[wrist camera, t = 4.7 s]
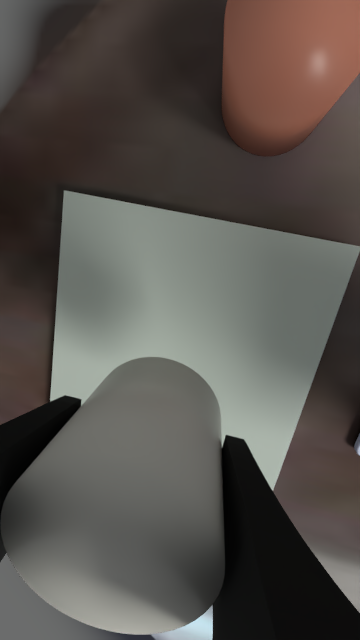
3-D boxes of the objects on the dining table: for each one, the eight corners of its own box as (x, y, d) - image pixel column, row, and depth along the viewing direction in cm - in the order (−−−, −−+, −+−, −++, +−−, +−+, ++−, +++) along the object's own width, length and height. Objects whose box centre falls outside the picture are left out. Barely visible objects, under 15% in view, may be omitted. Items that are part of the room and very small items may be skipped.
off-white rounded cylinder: (245, 394, 10) (272, 530, 5) (186, 488, 11) (164, 663, 7) (122, 334, 10) (35, 413, 5) (79, 435, 11) (-21, 571, 7)
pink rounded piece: (341, 45, 13) (419, -82, 8) (307, 164, 14) (355, 119, 9) (234, 30, 13) (245, -99, 8) (211, 147, 14) (209, 96, 9)
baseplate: (353, 246, 15) (361, 246, 14) (270, 480, 19) (272, 490, 18) (71, 193, 16) (64, 190, 15) (54, 424, 20) (47, 431, 19)
